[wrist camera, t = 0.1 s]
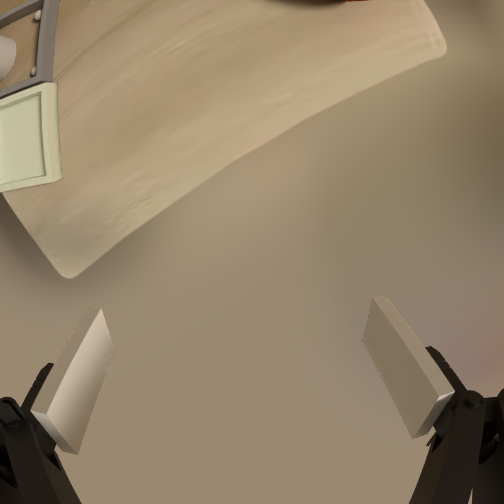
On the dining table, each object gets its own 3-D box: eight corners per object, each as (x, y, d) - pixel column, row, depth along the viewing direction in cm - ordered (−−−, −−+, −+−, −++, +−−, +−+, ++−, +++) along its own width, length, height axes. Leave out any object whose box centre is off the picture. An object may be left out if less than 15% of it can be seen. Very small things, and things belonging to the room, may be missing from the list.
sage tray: (-7, 107, 30) (-19, 108, 27) (57, 83, 31) (47, 82, 28) (-1, 189, 35) (-11, 194, 33) (63, 177, 36) (52, 182, 34)
